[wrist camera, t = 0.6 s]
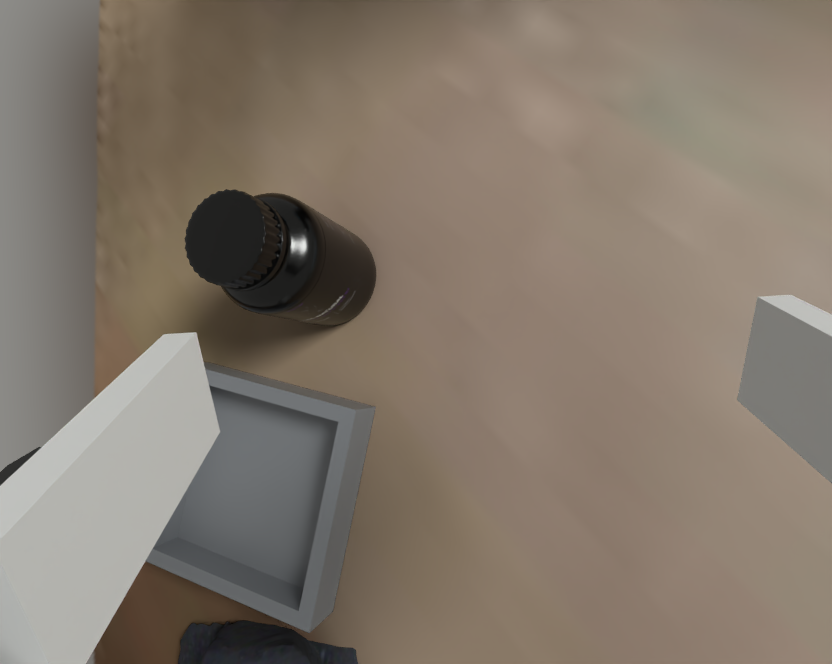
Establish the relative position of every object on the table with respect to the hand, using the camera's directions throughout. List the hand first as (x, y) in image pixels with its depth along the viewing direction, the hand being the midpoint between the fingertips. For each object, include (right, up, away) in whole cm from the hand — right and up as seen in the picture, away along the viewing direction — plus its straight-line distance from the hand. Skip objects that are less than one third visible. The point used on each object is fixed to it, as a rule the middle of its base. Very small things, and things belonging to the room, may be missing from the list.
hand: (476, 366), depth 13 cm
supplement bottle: (-7, +5, +25) cm, 26 cm away
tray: (-12, -10, +25) cm, 30 cm away
